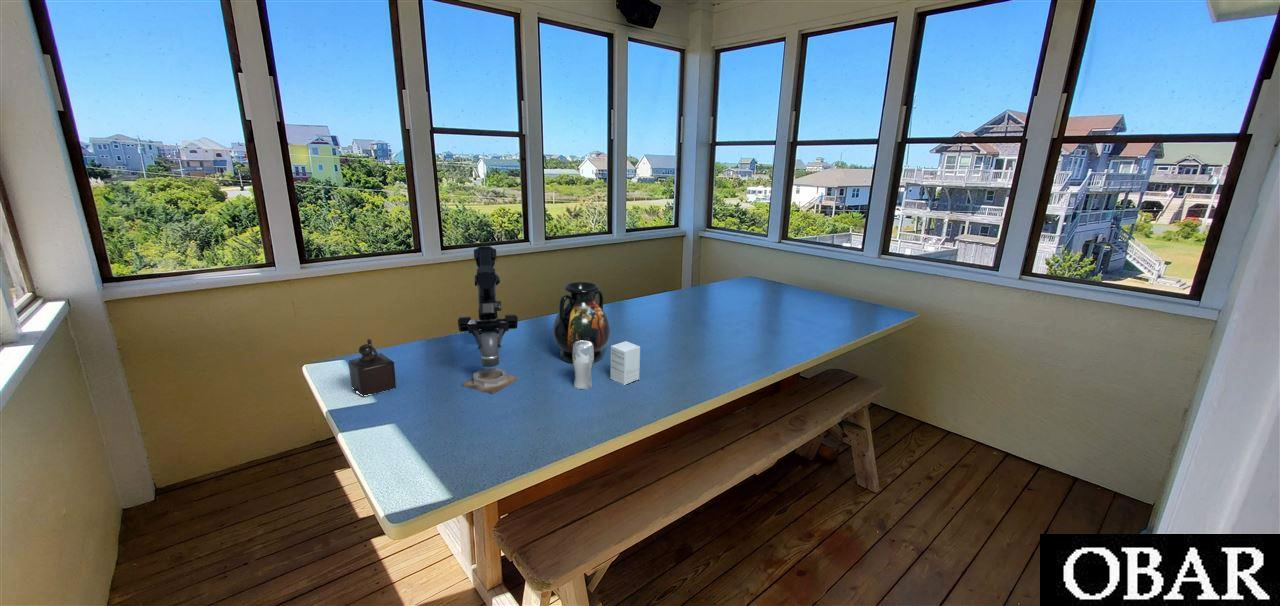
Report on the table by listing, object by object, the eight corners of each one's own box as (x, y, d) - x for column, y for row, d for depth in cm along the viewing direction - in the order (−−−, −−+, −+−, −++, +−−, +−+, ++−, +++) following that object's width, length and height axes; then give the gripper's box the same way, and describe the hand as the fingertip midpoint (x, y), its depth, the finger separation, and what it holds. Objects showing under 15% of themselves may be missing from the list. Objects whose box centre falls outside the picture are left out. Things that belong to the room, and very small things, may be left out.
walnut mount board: (462, 385, 168) (462, 377, 167) (488, 372, 179) (488, 364, 178) (492, 394, 163) (492, 385, 162) (517, 379, 174) (517, 371, 173)
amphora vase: (574, 372, 181) (574, 296, 173) (542, 354, 196) (541, 283, 189) (621, 359, 195) (623, 287, 187) (588, 343, 210) (588, 276, 203)
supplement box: (625, 374, 181) (626, 340, 178) (639, 380, 176) (641, 346, 173) (609, 379, 176) (610, 345, 173) (624, 386, 171) (625, 351, 168)
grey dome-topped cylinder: (478, 362, 169) (476, 334, 166) (494, 359, 173) (493, 331, 170) (486, 368, 165) (484, 339, 162) (502, 364, 169) (501, 335, 166)
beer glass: (589, 391, 167) (590, 348, 163) (569, 389, 168) (569, 346, 164) (596, 382, 173) (596, 341, 169) (576, 380, 175) (576, 339, 171)
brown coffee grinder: (348, 388, 163) (341, 334, 158) (384, 378, 171) (378, 327, 166) (367, 404, 153) (360, 348, 148) (404, 393, 161) (399, 339, 156)
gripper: (456, 293, 163) (457, 337, 156) (516, 291, 169) (519, 333, 162) (458, 309, 173) (459, 352, 166) (515, 307, 178) (518, 348, 171)
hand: (489, 346), depth 166 cm, fingers closed on grey dome-topped cylinder, 6 cm apart
